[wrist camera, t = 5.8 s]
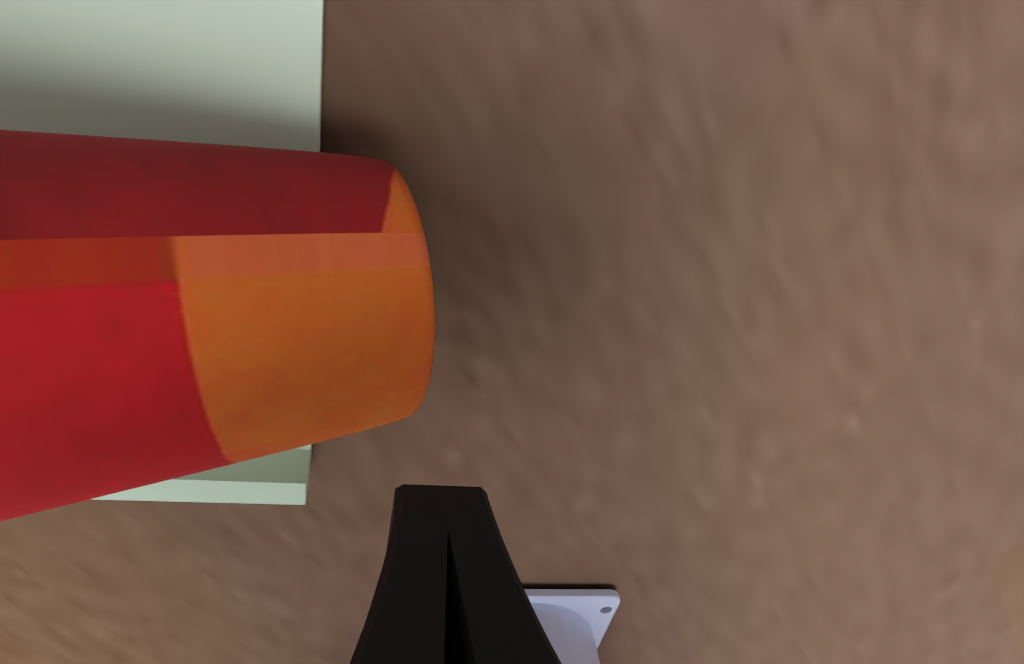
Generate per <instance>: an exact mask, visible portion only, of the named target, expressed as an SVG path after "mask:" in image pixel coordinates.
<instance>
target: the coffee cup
mask: <svg viewBox="0 0 1024 664" xmlns="http://www.w3.org/2000/svg"><path fill="white" fill-rule="evenodd" d="M434 339H435V309H434V292H433V282H432V274H431V266H430V260H429V254H428V249H427V244H426V239H425V235H424V231H423V227H422V223H421V220H420V217H419V213H418V210H417V207H416V205H415V202H414V199H413V197H412V195H411V192H410V190H409V188H408V186H407V184H406V182H405V180H404V179H403V177H402V176H401V174H400V173H399V172H398V170H397V169H396V168H395V167H394V166H393V165H392V164H391V163H389V162H387V161H385V160H381V159H376V158H371V157H362V156H354V155H345V154H335V153H323V152H311V151H300V150H288V149H276V148H262V147H248V146H234V145H220V144H206V143H192V142H178V141H164V140H149V139H134V138H119V137H105V136H90V135H75V134H60V133H45V132H30V131H15V130H0V521H3V520H7V519H11V518H15V517H19V516H23V515H27V514H32V513H36V512H40V511H44V510H48V509H52V508H56V507H60V506H64V505H68V504H72V503H76V502H81V501H85V500H89V499H93V498H97V497H101V496H105V495H109V494H113V493H117V492H121V491H125V490H129V489H134V488H138V487H142V486H146V485H150V484H154V483H158V482H162V481H166V480H170V479H174V478H178V477H182V476H187V475H191V474H195V473H199V472H203V471H207V470H211V469H215V468H219V467H223V466H227V465H231V464H235V463H239V462H243V461H247V460H251V459H255V458H259V457H263V456H267V455H271V454H275V453H279V452H283V451H287V450H291V449H295V448H299V447H303V446H307V445H311V444H315V443H319V442H322V441H326V440H330V439H334V438H338V437H341V436H345V435H349V434H353V433H356V432H360V431H364V430H368V429H371V428H375V427H378V426H381V425H385V424H388V423H392V422H395V421H398V420H401V419H403V418H406V417H408V416H411V415H412V414H413V413H415V412H416V410H417V409H418V408H419V406H420V405H421V403H422V401H423V399H424V396H425V394H426V391H427V387H428V384H429V379H430V375H431V369H432V362H433V354H434Z"/></svg>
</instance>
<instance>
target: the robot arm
mask: <svg viewBox="0 0 1024 664" xmlns="http://www.w3.org/2000/svg"><path fill="white" fill-rule="evenodd" d="M619 603H620V597H619V594H618V592H617V591H615V590H612V589H524V588H523V586H522V584H521V581H520V579H519V577H518V575H517V572H516V570H515V568H514V566H513V563H512V561H511V558H510V556H509V554H508V551H507V549H506V546H505V544H504V541H503V539H502V536H501V534H500V531H499V529H498V526H497V523H496V520H495V518H494V515H493V512H492V509H491V506H490V503H489V500H488V496H487V493H486V492H485V491H484V490H483V489H482V488H481V487H464V486H435V485H406V484H403V485H402V486H400V487H398V488H396V489H395V495H394V502H393V509H392V516H391V523H390V530H389V537H388V545H387V551H386V556H385V560H384V564H383V567H382V571H381V574H380V577H379V581H378V584H377V587H376V590H375V594H374V597H373V600H372V603H371V607H370V610H369V613H368V616H367V619H366V622H365V625H364V627H363V630H362V633H361V635H360V638H359V641H358V643H357V646H356V649H355V651H354V654H353V657H352V659H351V662H350V664H600V662H599V658H598V653H597V648H598V646H599V644H600V642H601V640H602V638H603V636H604V634H605V632H606V630H607V628H608V626H609V624H610V622H611V620H612V617H613V615H614V613H615V611H616V609H617V607H618V605H619Z"/></svg>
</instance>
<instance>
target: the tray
mask: <svg viewBox="0 0 1024 664" xmlns="http://www.w3.org/2000/svg"><path fill="white" fill-rule="evenodd" d="M323 31H324V0H0V130H15V131H30V132H45V133H60V134H75V135H90V136H105V137H119V138H134V139H149V140H164V141H178V142H192V143H206V144H220V145H234V146H248V147H262V148H276V149H288V150H300V151H311V152H320V138H321V102H322V67H323ZM311 459H312V444H311V445H307V446H303V447H299V448H295V449H291V450H287V451H283V452H279V453H275V454H271V455H267V456H263V457H259V458H255V459H251V460H247V461H243V462H239V463H235V464H231V465H227V466H223V467H219V468H215V469H211V470H207V471H203V472H199V473H195V474H191V475H187V476H182V477H178V478H174V479H170V480H166V481H162V482H158V483H154V484H150V485H146V486H142V487H138V488H134V489H129V490H125V491H121V492H117V493H113V494H109V495H105V496H101V497H97V498H93V499H98V500H137V501H175V502H214V503H253V504H292V505H305V503H306V496H307V489H308V482H309V475H310V468H311Z"/></svg>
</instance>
